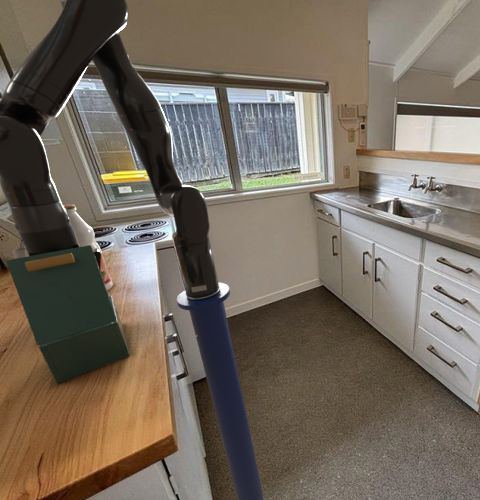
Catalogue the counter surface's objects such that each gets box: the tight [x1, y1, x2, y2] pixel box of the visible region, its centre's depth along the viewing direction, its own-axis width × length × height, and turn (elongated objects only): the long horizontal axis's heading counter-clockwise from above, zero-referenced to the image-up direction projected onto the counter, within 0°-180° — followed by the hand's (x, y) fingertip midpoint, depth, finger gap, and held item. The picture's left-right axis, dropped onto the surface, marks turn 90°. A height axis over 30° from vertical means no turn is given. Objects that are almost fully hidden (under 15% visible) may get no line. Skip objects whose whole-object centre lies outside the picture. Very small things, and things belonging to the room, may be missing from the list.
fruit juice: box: [63, 203, 114, 291], centre depth 87 cm, size 9×9×28 cm
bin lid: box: [5, 245, 117, 347], centre depth 53 cm, size 16×12×5 cm
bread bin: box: [38, 295, 130, 385], centre depth 63 cm, size 16×12×9 cm
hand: (75, 299), depth 63 cm, fingers closed on block, 4 cm apart
